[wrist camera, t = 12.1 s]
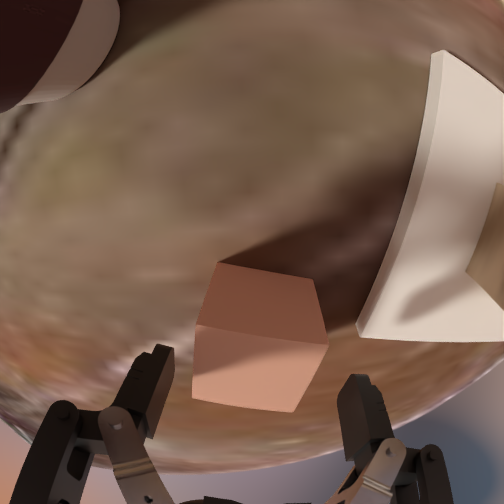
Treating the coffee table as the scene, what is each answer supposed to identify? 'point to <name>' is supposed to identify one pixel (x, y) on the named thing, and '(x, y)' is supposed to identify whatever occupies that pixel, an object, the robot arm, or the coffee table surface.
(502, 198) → the maple block
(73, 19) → the coffee cup
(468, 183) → the base plate
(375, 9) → the coffee table surface
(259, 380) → the terracotta block
